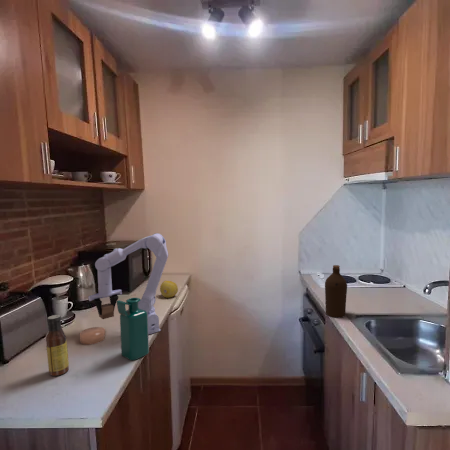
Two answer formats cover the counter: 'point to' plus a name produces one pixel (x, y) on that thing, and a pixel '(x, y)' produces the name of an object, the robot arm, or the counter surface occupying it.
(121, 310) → the green plastic tall container
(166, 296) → the fruit
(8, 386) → the counter surface
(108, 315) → the walnut cube
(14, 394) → the counter surface
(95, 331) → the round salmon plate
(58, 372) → the sauce bottle
